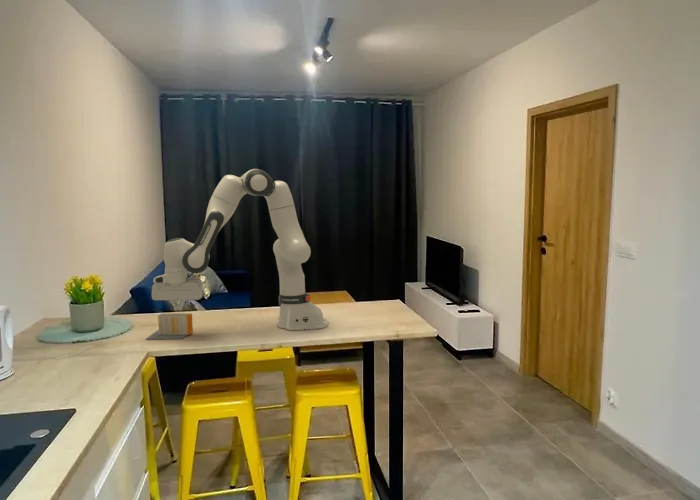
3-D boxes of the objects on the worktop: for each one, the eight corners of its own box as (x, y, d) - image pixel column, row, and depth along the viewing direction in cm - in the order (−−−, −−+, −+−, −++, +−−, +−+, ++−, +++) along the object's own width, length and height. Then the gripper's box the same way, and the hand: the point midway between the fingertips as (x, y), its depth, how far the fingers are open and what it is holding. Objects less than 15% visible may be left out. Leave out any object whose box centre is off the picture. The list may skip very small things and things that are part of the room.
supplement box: (192, 313, 217) (162, 312, 218) (188, 316, 212) (157, 315, 213) (193, 332, 218) (163, 331, 219) (189, 335, 213) (158, 334, 214)
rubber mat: (192, 330, 222) (192, 329, 222) (182, 339, 209) (182, 338, 209) (158, 331, 222) (158, 329, 222) (145, 339, 209) (145, 338, 209)
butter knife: (52, 358, 188) (57, 359, 186) (111, 341, 208) (116, 342, 207) (53, 359, 188) (57, 360, 186) (111, 342, 208) (116, 343, 207)
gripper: (203, 275, 216) (205, 308, 217) (155, 276, 216) (157, 308, 218) (199, 278, 209) (200, 311, 211) (149, 279, 210) (151, 312, 211)
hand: (178, 310), depth 214 cm, fingers closed
